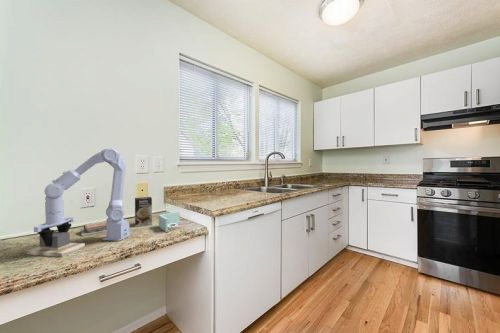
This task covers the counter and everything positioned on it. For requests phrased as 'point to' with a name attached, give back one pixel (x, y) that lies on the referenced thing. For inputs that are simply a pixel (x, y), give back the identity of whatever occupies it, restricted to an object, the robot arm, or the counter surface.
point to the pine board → (58, 253)
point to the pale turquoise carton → (169, 221)
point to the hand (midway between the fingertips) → (55, 243)
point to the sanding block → (57, 241)
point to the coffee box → (143, 211)
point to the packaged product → (94, 228)
